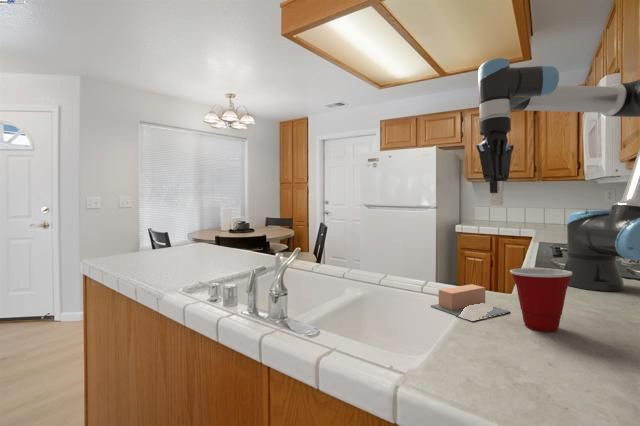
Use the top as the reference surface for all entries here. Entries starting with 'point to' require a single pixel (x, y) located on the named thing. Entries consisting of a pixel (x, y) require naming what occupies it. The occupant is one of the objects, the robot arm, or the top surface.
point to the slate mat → (458, 311)
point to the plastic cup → (541, 296)
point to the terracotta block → (461, 296)
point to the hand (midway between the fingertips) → (496, 205)
